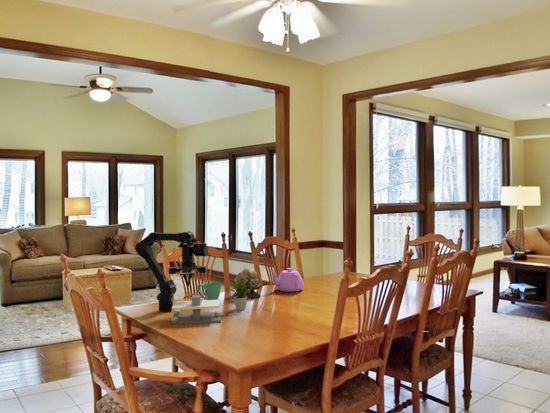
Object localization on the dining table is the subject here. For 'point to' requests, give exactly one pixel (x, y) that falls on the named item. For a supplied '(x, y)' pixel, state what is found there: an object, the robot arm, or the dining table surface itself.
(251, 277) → the bushy plant
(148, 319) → the dining table surface
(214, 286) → the mug
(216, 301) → the deck
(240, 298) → the house plant
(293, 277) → the teapot
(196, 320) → the stand
